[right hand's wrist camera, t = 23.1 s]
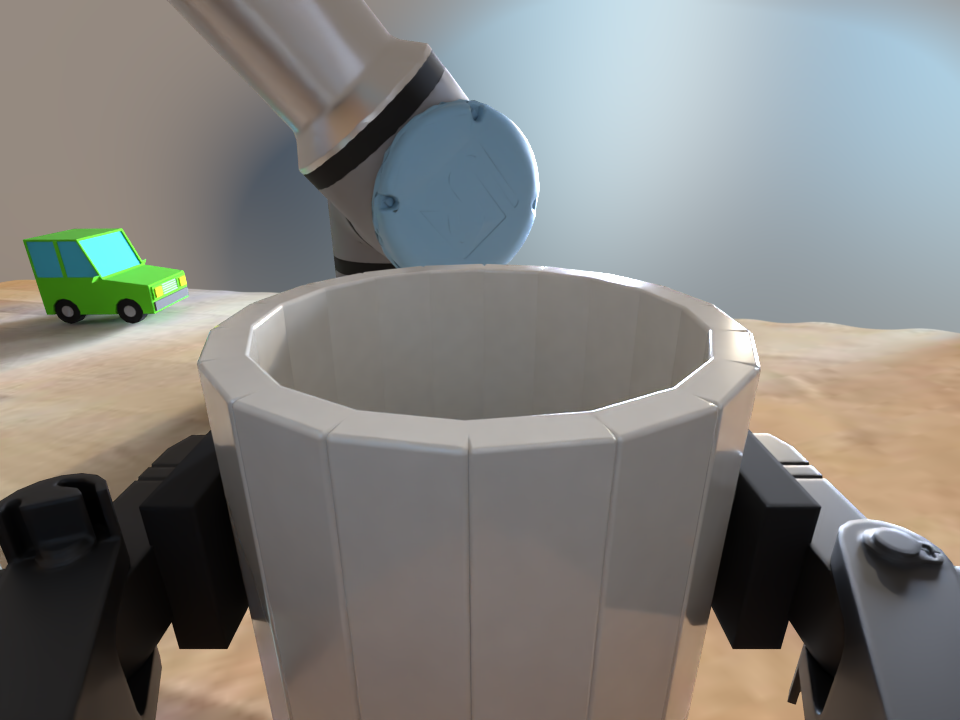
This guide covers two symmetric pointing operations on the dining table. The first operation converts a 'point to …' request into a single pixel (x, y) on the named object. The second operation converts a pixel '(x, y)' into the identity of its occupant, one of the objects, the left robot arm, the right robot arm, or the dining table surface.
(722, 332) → the cup
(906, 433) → the dining table surface
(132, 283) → the toy car
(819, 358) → the dining table surface
